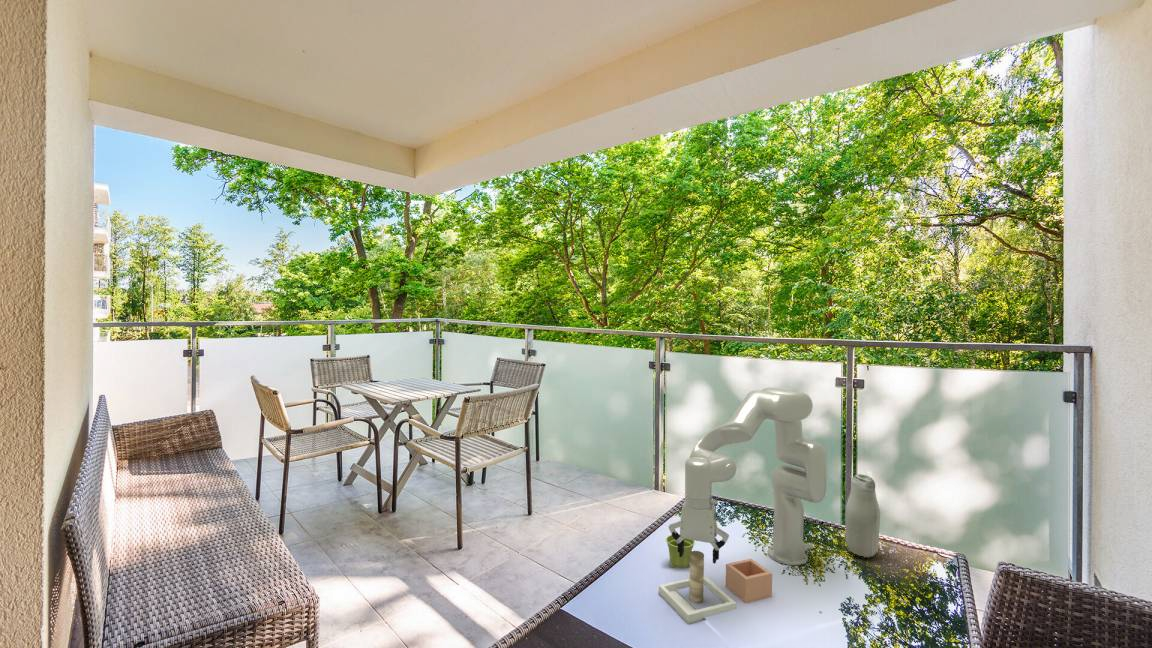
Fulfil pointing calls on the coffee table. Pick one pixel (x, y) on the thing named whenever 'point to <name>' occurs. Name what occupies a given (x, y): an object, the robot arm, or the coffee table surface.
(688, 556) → the plant pot
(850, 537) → the grey bottle
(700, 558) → the birch dowel
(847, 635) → the coffee table surface
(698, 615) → the cream tray
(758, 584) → the terracotta cup
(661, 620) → the coffee table surface
